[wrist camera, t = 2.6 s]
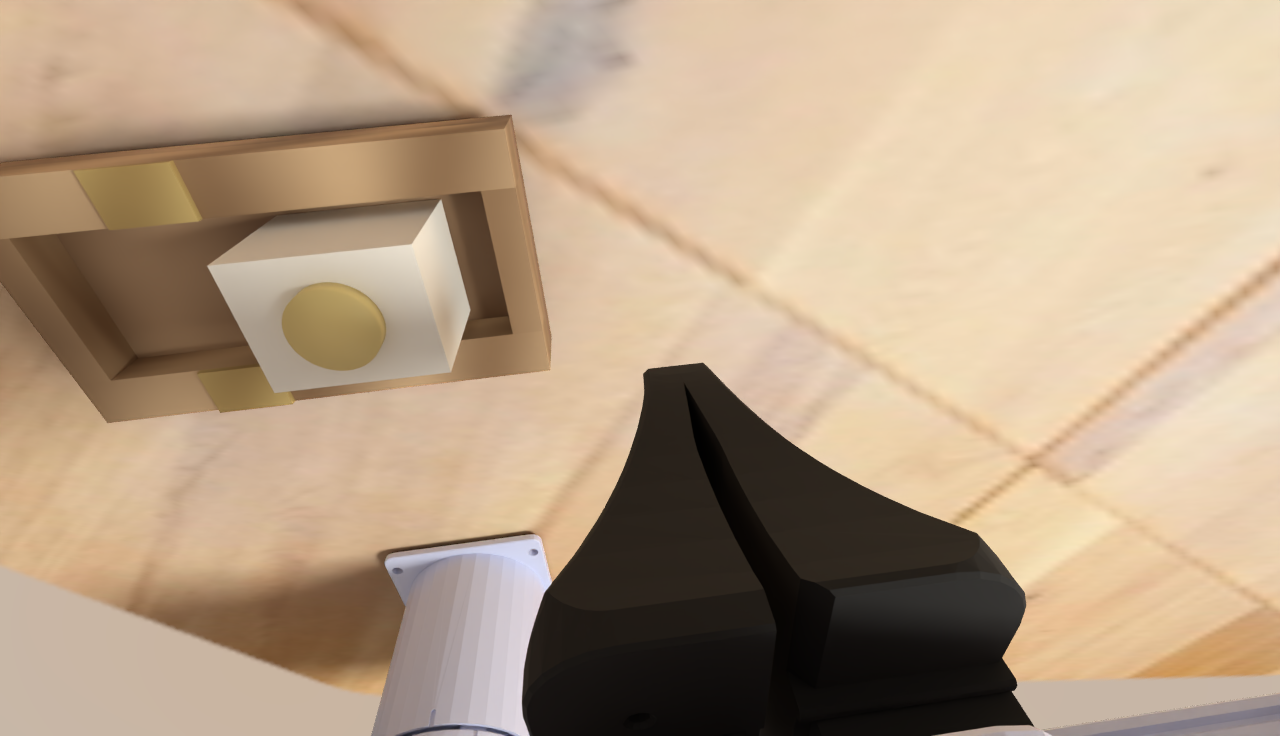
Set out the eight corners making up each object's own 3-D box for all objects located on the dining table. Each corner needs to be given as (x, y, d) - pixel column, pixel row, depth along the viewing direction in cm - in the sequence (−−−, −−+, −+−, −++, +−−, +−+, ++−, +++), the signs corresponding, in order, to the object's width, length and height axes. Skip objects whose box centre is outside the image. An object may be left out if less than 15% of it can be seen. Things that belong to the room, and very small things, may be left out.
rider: (441, 199, 17) (407, 251, 14) (470, 310, 20) (448, 382, 16) (276, 215, 17) (196, 273, 13) (324, 326, 19) (266, 403, 16)
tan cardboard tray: (514, 109, 18) (503, 130, 15) (552, 322, 23) (549, 373, 20) (35, 153, 18) (-82, 185, 14) (170, 365, 22) (103, 426, 19)
